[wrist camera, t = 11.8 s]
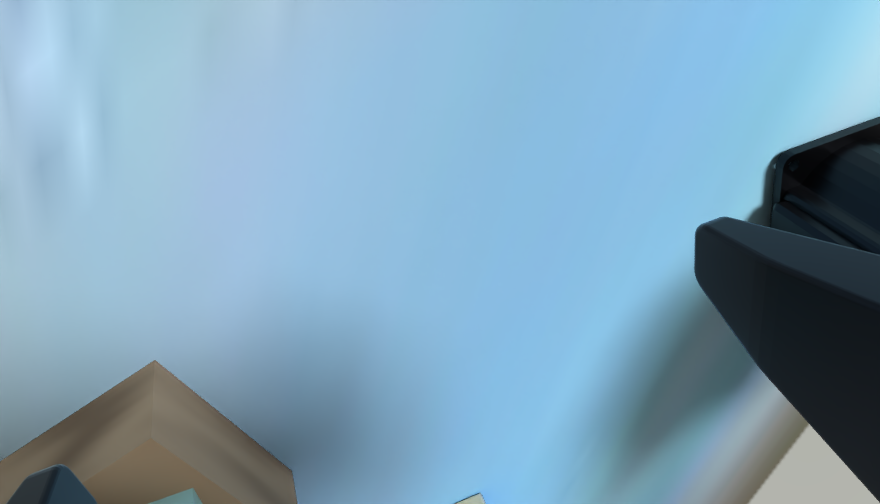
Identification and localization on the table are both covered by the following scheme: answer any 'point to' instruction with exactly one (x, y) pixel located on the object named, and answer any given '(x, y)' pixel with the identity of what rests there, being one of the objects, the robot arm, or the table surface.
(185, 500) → the teal block
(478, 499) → the stack of blocks
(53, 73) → the table surface
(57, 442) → the walnut base block
